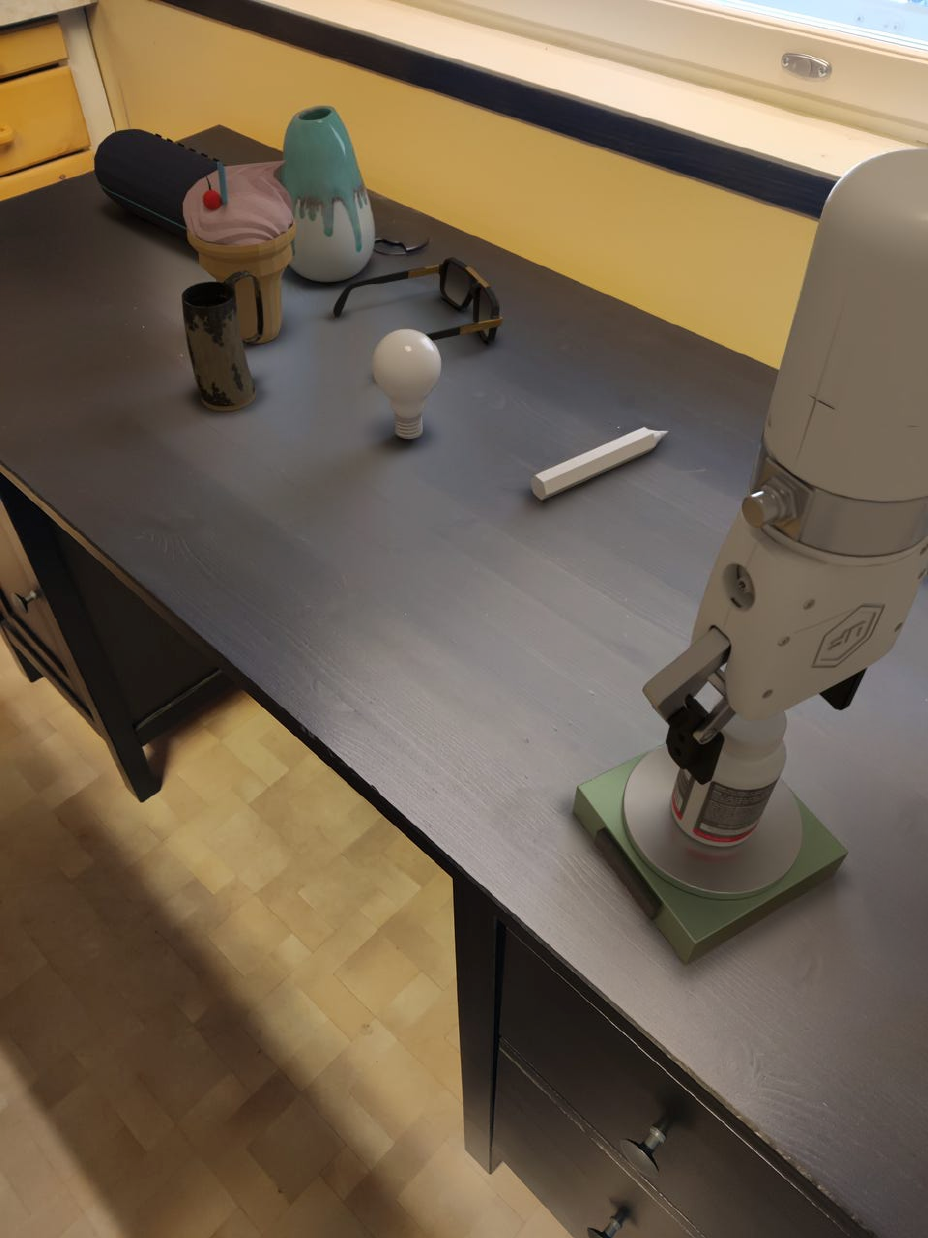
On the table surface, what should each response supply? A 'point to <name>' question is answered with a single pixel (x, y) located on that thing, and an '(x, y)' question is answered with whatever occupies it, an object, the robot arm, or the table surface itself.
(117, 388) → the table surface
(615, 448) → the white pencil
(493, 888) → the table surface
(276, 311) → the ice cream cone
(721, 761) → the pill bottle
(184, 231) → the portable speaker
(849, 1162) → the table surface
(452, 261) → the sunglasses
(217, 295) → the mug
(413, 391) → the lightbulb
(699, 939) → the scale
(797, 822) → the pan
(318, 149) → the vase
